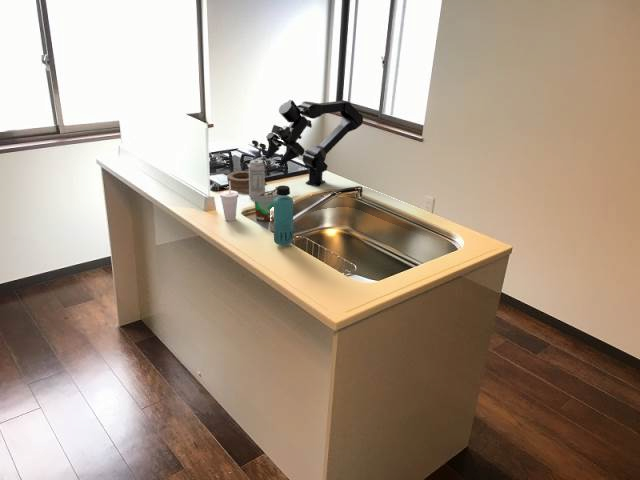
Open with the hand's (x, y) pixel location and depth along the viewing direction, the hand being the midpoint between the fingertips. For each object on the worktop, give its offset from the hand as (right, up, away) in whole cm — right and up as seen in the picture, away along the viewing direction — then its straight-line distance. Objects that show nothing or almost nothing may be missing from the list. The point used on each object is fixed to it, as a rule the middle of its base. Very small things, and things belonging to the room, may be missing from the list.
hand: (273, 161), depth 207 cm
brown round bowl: (-14, -8, +13) cm, 20 cm away
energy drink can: (-6, -14, +1) cm, 16 cm away
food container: (+1, -23, -17) cm, 29 cm away
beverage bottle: (+7, -33, -35) cm, 49 cm away
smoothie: (-14, -23, -18) cm, 32 cm away
